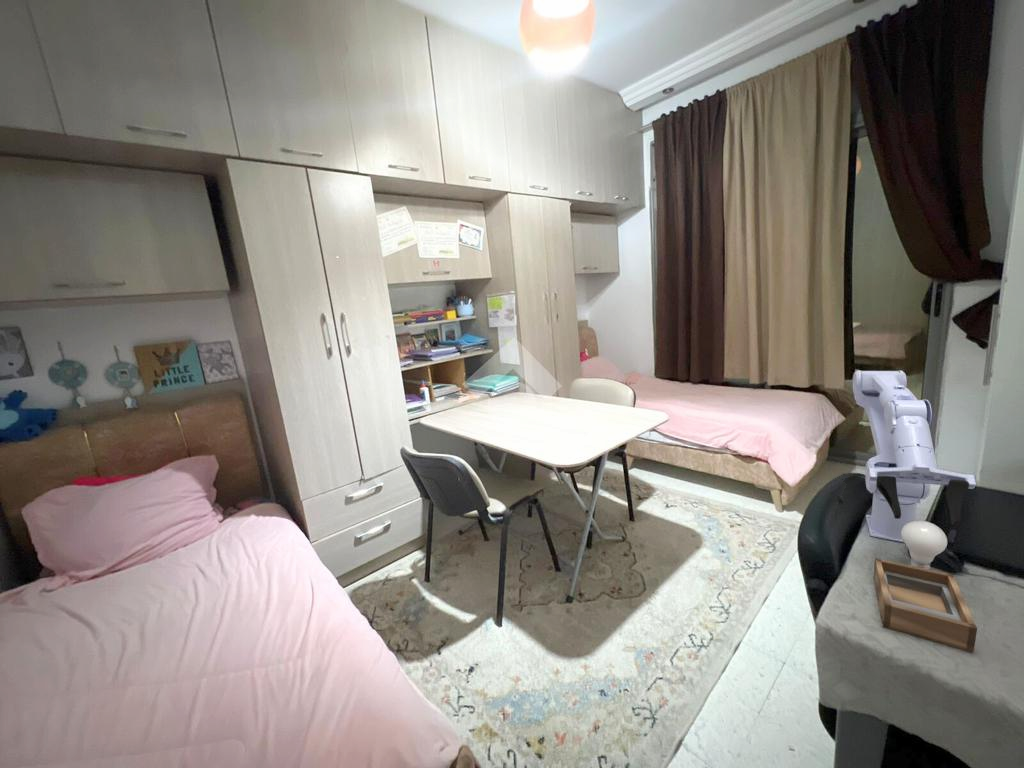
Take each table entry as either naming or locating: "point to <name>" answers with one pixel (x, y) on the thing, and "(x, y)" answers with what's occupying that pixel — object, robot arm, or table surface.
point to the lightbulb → (923, 542)
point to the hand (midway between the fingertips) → (926, 520)
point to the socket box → (923, 604)
